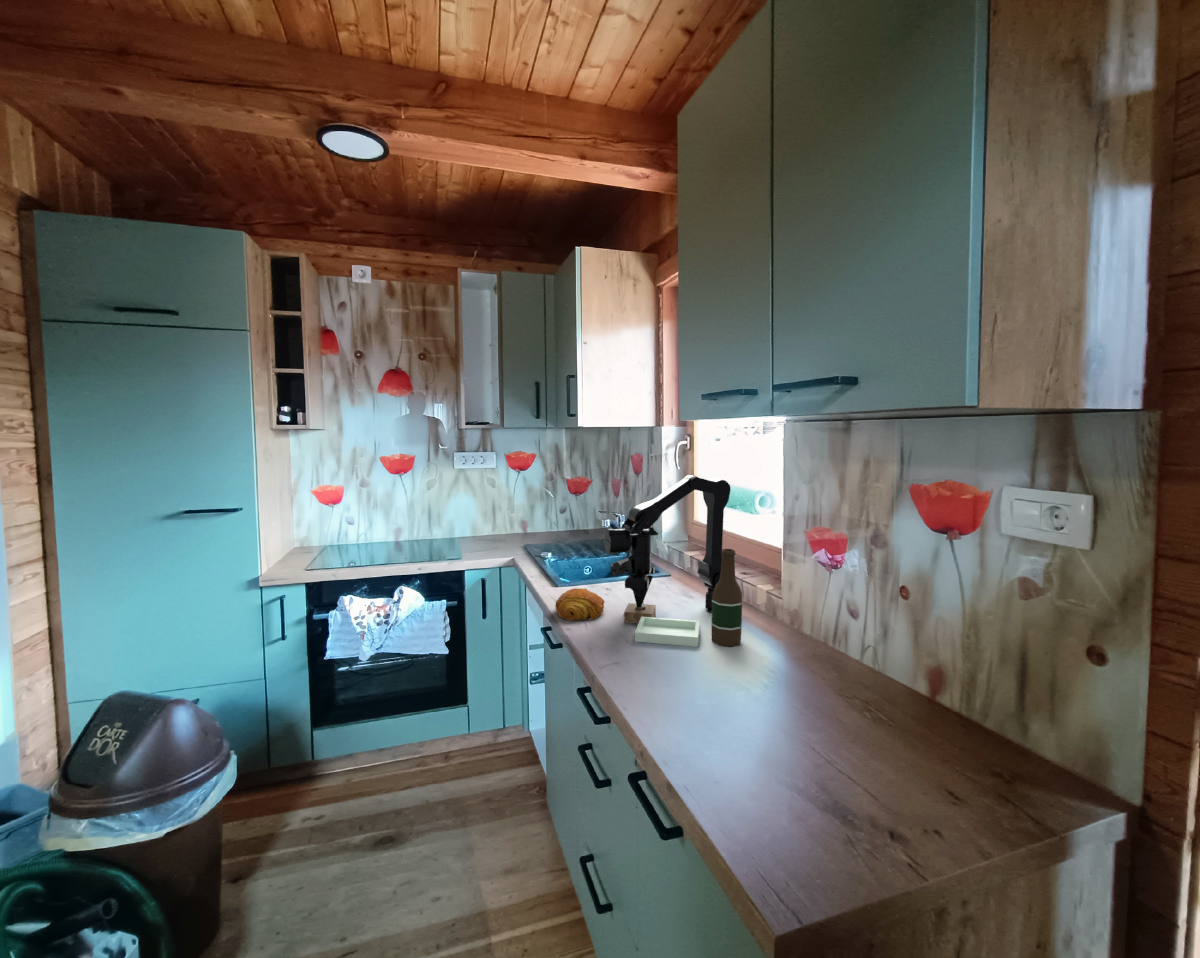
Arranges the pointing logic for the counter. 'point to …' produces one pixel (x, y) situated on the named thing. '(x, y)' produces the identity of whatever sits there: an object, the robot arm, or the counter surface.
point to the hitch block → (638, 612)
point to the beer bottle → (727, 604)
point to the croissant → (579, 605)
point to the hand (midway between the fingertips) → (640, 604)
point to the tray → (668, 631)
